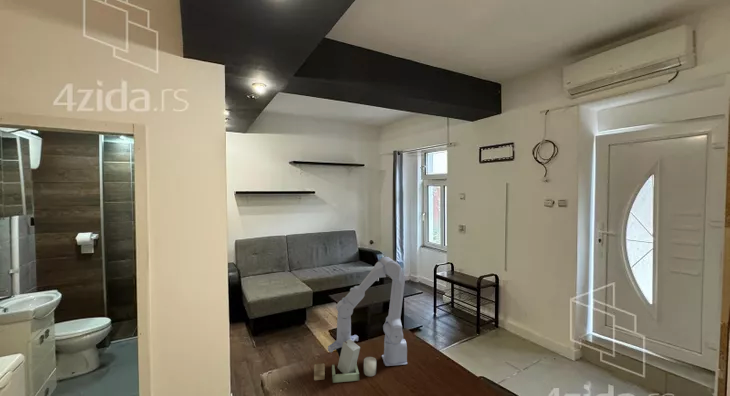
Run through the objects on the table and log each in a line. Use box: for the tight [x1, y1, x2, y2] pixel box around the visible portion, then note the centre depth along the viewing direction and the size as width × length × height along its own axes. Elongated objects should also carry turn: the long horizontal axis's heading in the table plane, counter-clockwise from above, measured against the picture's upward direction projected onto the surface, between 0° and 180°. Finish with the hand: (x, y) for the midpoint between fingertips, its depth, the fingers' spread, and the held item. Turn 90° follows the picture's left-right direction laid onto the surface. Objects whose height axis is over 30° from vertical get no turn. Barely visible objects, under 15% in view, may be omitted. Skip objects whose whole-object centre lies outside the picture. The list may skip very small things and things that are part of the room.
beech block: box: [313, 363, 326, 381], centre depth 117 cm, size 4×4×4 cm
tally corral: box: [331, 363, 360, 384], centre depth 118 cm, size 10×8×2 cm
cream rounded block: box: [363, 356, 377, 377], centre depth 120 cm, size 5×5×5 cm
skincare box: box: [337, 339, 361, 374], centre depth 119 cm, size 6×4×12 cm
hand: (343, 363), depth 124 cm, fingers closed
